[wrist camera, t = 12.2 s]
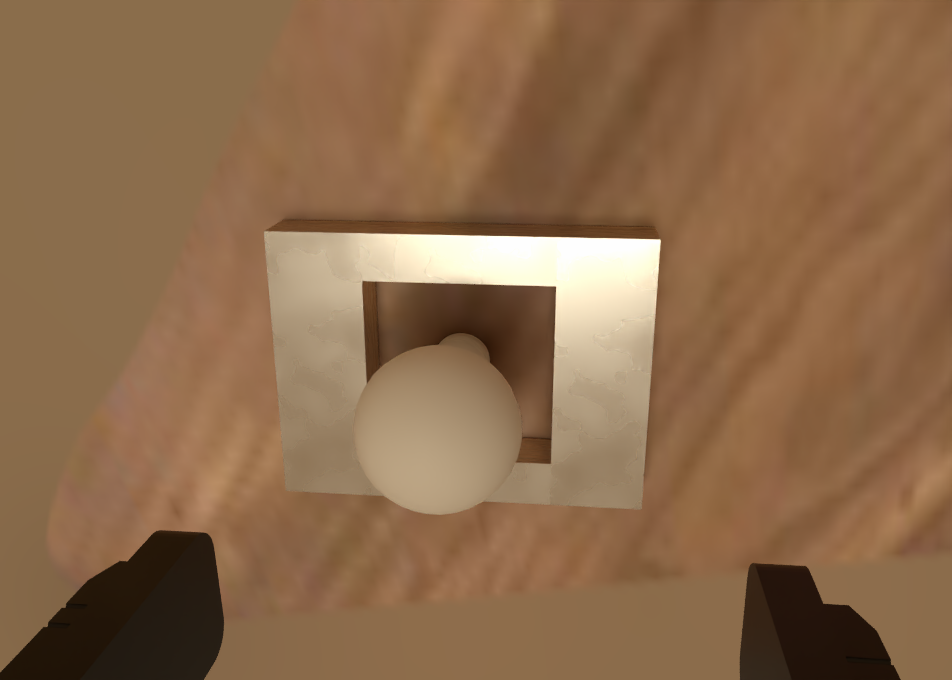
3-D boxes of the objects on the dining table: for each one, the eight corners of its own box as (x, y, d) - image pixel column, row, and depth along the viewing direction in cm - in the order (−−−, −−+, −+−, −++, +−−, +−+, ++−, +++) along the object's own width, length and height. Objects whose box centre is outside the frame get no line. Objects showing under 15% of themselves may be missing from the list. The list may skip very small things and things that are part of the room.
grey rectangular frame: (654, 226, 35) (660, 239, 33) (637, 481, 39) (641, 509, 37) (283, 219, 37) (263, 231, 35) (302, 465, 41) (286, 490, 39)
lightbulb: (383, 391, 39) (315, 516, 29) (417, 270, 37) (358, 358, 27) (508, 431, 39) (486, 570, 29) (550, 312, 37) (541, 416, 27)
